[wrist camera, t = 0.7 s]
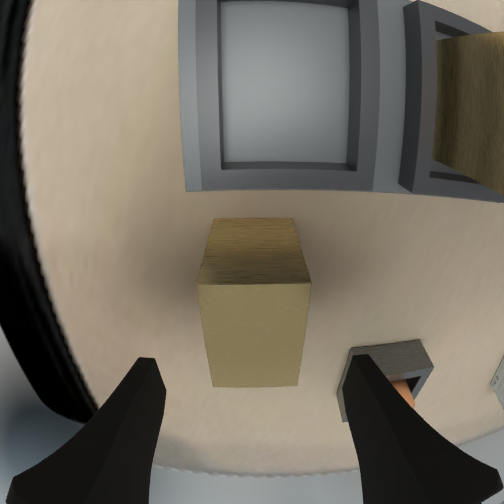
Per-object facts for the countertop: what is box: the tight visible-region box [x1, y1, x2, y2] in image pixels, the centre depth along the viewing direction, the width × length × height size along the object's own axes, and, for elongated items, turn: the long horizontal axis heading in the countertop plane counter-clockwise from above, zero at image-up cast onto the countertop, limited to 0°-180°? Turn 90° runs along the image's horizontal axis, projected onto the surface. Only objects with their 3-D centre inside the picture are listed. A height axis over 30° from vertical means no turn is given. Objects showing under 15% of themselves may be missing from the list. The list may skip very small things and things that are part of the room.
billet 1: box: [196, 218, 311, 387], centre depth 14 cm, size 4×6×6 cm, turn 1°
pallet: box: [178, 0, 504, 203], centre depth 11 cm, size 18×10×3 cm, turn 91°
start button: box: [391, 379, 415, 408], centre depth 19 cm, size 4×4×3 cm
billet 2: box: [432, 32, 504, 196], centre depth 8 cm, size 4×6×6 cm, turn 1°
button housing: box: [336, 340, 434, 422], centre depth 20 cm, size 6×6×3 cm
